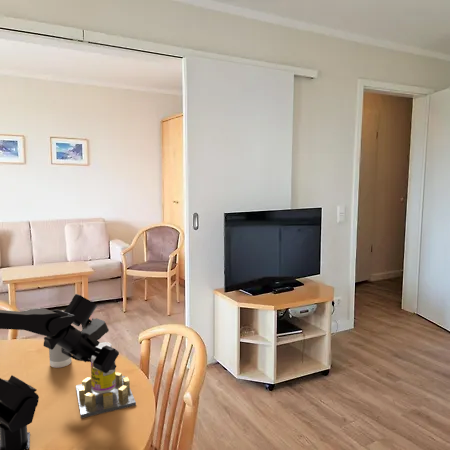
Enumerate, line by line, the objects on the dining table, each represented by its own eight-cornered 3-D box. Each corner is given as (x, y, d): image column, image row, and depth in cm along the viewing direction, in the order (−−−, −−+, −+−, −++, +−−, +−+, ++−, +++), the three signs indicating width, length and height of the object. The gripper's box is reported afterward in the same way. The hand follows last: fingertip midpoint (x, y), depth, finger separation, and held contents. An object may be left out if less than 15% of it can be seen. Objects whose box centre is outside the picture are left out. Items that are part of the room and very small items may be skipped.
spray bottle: (48, 369, 133) (45, 316, 131) (51, 359, 139) (48, 309, 137) (70, 366, 135) (68, 314, 132) (72, 357, 141) (70, 307, 139)
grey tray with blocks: (135, 405, 113) (135, 391, 112) (81, 418, 107) (80, 403, 106) (124, 378, 127) (124, 366, 127) (75, 388, 121) (75, 375, 121)
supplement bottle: (87, 387, 117) (86, 344, 115) (109, 380, 121) (108, 338, 120) (97, 397, 112) (96, 352, 110) (119, 389, 116) (119, 346, 115)
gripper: (112, 320, 105) (144, 347, 115) (69, 306, 116) (102, 331, 126) (87, 360, 100) (123, 384, 110) (44, 341, 110) (81, 365, 121)
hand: (107, 364), depth 117 cm, fingers closed on supplement bottle, 7 cm apart
